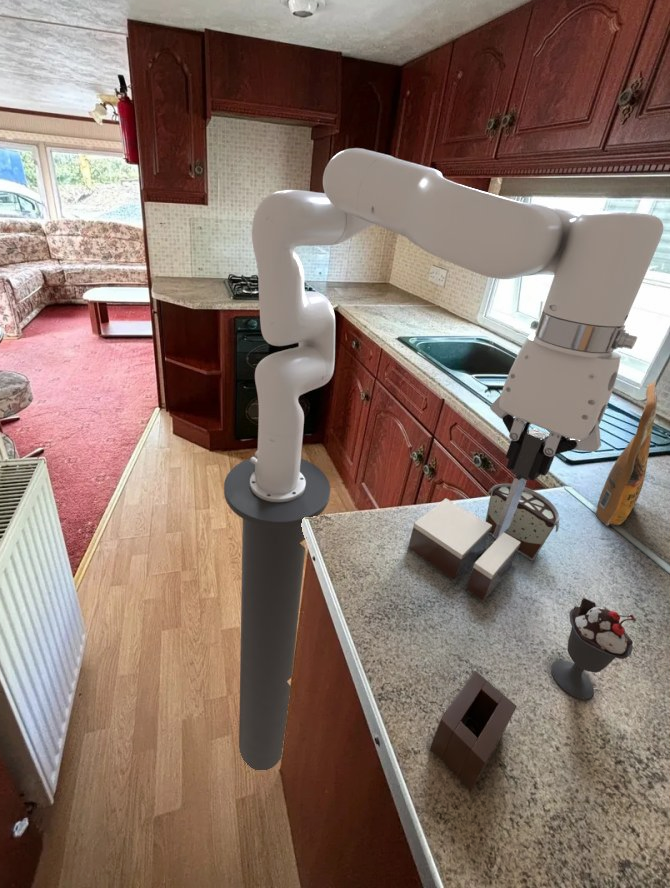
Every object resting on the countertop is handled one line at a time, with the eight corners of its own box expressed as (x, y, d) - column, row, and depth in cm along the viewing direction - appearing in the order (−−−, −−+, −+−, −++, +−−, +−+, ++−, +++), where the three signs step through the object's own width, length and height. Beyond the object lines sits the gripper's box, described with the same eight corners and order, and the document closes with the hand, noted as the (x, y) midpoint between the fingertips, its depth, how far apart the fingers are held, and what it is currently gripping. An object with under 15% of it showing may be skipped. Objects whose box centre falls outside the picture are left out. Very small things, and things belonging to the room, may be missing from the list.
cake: (408, 547, 74) (414, 522, 72) (439, 521, 81) (445, 498, 79) (454, 581, 68) (462, 555, 66) (483, 549, 75) (492, 525, 73)
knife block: (429, 748, 47) (440, 718, 44) (463, 699, 52) (474, 670, 49) (470, 792, 43) (485, 763, 41) (502, 735, 48) (517, 705, 46)
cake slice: (465, 589, 67) (474, 562, 64) (494, 556, 74) (503, 531, 71) (482, 602, 65) (493, 575, 62) (511, 567, 72) (521, 541, 69)
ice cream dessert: (554, 550, 76) (573, 508, 72) (541, 566, 72) (560, 523, 68) (491, 513, 84) (504, 474, 80) (476, 525, 81) (489, 485, 77)
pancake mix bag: (579, 517, 85) (634, 398, 74) (603, 483, 97) (653, 376, 86) (618, 536, 81) (682, 412, 69) (637, 497, 93) (695, 387, 81)
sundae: (605, 718, 51) (657, 640, 44) (544, 688, 53) (585, 611, 47) (598, 671, 56) (644, 596, 50) (543, 645, 59) (580, 571, 53)
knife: (487, 533, 56) (523, 434, 49) (500, 521, 58) (535, 425, 52) (501, 542, 55) (540, 442, 48) (514, 529, 57) (552, 432, 50)
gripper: (673, 349, 41) (603, 492, 49) (516, 313, 52) (479, 435, 60) (658, 363, 37) (584, 518, 44) (489, 320, 47) (452, 451, 55)
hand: (524, 469), depth 52 cm, fingers closed on knife, 2 cm apart
